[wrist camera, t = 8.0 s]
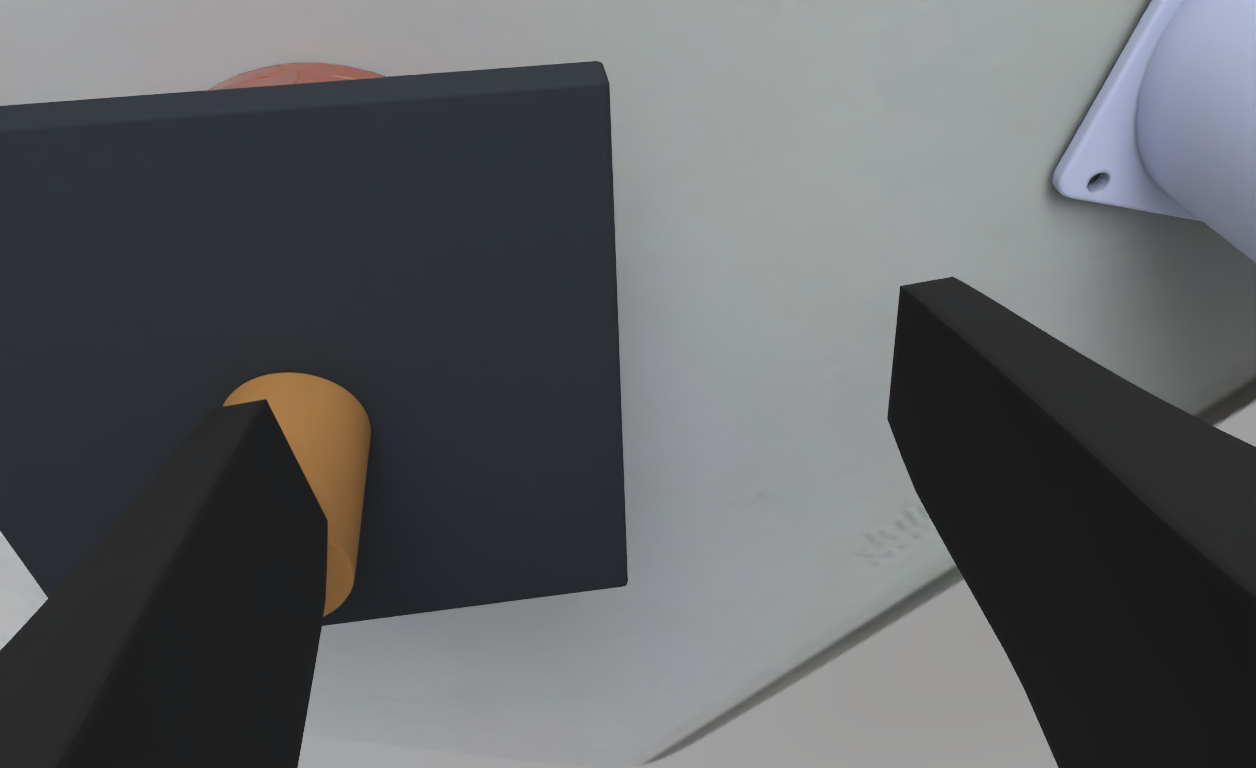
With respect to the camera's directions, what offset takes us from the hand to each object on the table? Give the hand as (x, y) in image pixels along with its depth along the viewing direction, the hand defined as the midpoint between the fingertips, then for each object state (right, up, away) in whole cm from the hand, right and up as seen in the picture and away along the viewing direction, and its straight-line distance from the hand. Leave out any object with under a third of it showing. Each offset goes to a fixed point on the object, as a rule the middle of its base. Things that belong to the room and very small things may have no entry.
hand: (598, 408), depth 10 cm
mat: (-5, 0, +5) cm, 8 cm away
